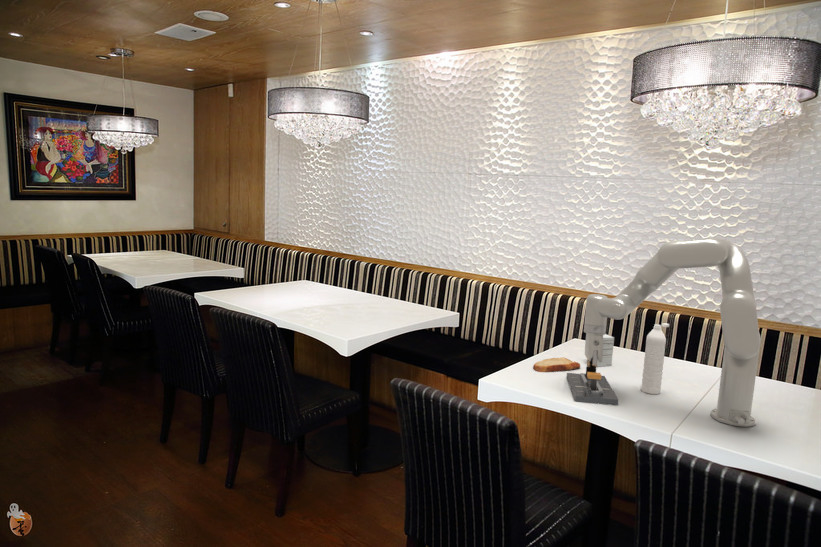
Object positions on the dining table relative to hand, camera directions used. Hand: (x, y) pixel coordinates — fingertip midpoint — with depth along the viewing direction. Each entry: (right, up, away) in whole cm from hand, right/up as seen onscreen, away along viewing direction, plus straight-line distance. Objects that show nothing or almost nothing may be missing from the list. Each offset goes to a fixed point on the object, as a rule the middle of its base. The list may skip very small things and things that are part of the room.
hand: (590, 377), depth 205 cm
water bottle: (+23, -5, +1) cm, 24 cm away
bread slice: (-6, -1, +25) cm, 26 cm away
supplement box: (+14, -1, +33) cm, 36 cm away
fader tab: (-1, -3, -6) cm, 7 cm away
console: (0, -4, -1) cm, 5 cm away
